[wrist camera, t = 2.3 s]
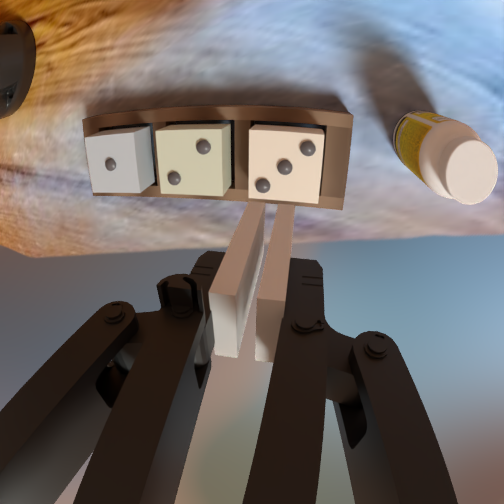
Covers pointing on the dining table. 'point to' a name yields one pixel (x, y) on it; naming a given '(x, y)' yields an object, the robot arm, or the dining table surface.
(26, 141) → the dining table surface
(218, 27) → the dining table surface
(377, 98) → the dining table surface
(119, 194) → the tile tray
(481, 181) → the pill bottle
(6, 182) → the dining table surface
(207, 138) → the tile two
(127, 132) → the tile one
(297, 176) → the tile three
